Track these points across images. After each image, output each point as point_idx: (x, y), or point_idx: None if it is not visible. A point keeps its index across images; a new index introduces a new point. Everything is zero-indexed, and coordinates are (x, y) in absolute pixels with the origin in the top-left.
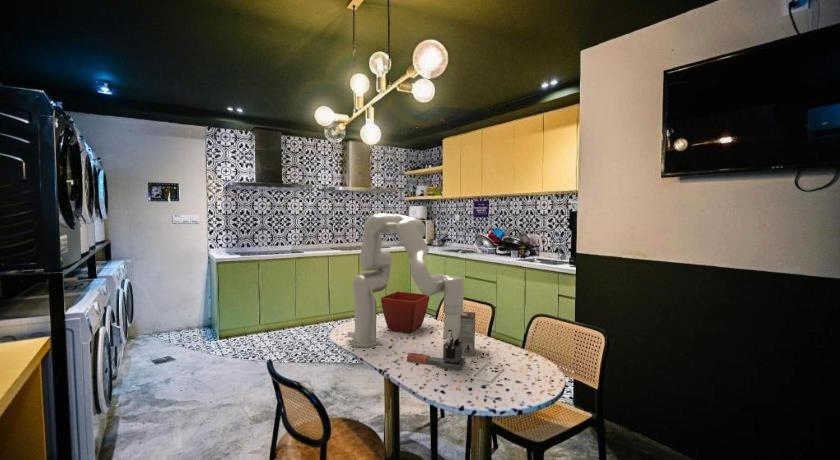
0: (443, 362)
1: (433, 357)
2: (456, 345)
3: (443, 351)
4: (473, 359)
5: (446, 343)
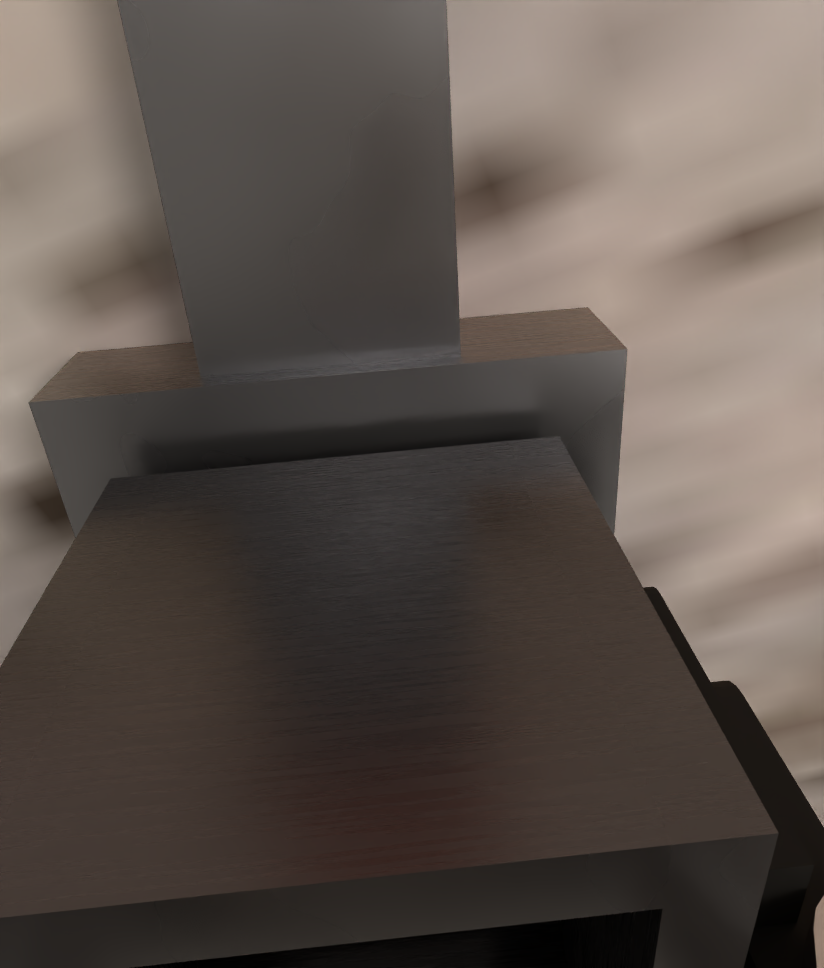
0: (92, 484)
1: (396, 14)
2: (586, 961)
3: (8, 670)
4: (789, 739)
5: (208, 952)
